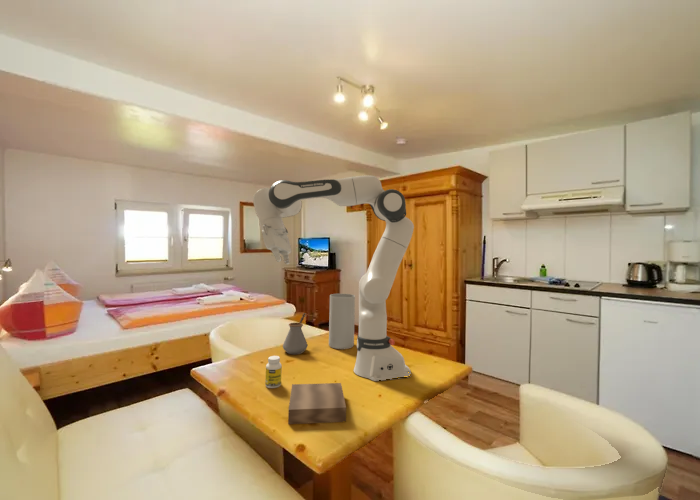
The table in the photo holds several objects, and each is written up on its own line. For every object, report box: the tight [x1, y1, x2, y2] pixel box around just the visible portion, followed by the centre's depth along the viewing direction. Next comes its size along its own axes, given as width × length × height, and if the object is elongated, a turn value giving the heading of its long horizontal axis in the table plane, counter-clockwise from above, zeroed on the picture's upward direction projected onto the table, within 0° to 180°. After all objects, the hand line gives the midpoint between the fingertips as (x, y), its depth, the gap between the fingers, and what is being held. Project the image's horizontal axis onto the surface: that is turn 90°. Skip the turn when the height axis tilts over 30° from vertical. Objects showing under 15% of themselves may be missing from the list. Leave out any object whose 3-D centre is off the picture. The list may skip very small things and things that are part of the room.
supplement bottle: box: [264, 355, 282, 389], centre depth 111 cm, size 5×5×10 cm
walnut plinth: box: [287, 382, 347, 425], centre depth 96 cm, size 16×16×4 cm
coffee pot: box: [282, 312, 308, 355], centre depth 152 cm, size 21×12×15 cm, turn 172°
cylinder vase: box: [328, 293, 356, 350], centre depth 157 cm, size 12×12×25 cm
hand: (283, 262), depth 119 cm, fingers open, 8 cm apart
